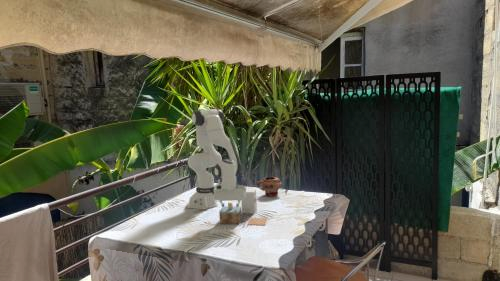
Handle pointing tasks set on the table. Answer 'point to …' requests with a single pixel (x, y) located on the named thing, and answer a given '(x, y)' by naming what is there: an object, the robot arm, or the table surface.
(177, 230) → the table surface
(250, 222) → the coaster
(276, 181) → the decorative planter
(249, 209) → the supplement box
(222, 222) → the walnut box
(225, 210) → the lid
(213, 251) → the table surface
